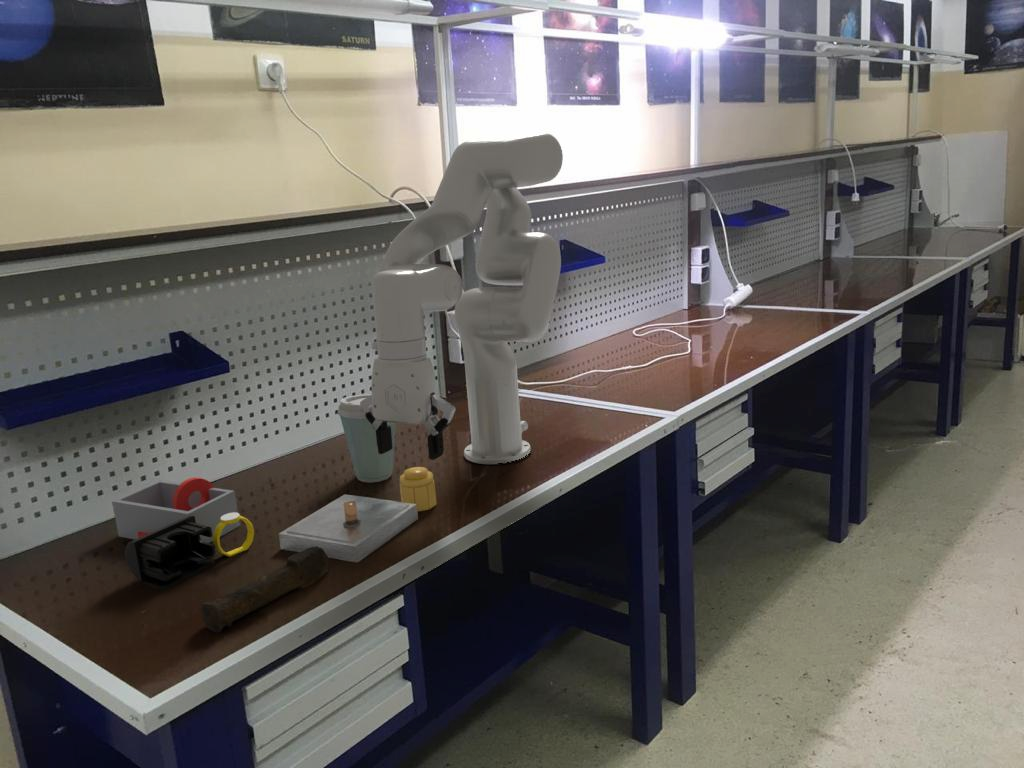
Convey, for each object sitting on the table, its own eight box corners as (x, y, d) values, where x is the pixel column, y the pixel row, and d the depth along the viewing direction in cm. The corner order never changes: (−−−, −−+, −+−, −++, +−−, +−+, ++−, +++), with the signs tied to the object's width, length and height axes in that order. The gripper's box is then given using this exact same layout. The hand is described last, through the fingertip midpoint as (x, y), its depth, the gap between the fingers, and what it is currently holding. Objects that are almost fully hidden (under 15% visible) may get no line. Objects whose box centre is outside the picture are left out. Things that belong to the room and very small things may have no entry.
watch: (224, 563, 126) (215, 527, 125) (214, 558, 128) (205, 522, 126) (260, 546, 130) (251, 510, 129) (250, 541, 132) (241, 506, 131)
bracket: (206, 512, 144) (198, 468, 142) (220, 518, 141) (212, 473, 139) (136, 538, 136) (126, 491, 134) (149, 545, 133) (140, 497, 131)
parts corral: (166, 513, 146) (160, 480, 145) (240, 525, 139) (234, 490, 137) (118, 536, 138) (111, 501, 137) (194, 550, 131) (188, 513, 129)
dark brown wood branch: (219, 638, 106) (213, 604, 105) (201, 628, 108) (196, 595, 107) (342, 577, 119) (338, 546, 118) (324, 570, 122) (320, 539, 121)
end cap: (188, 553, 130) (181, 511, 128) (220, 562, 126) (212, 519, 125) (129, 582, 122) (120, 538, 120) (161, 593, 118) (152, 547, 117)
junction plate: (346, 508, 143) (342, 474, 141) (418, 518, 136) (414, 483, 135) (281, 549, 129) (275, 511, 128) (357, 562, 123) (352, 523, 121)
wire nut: (414, 496, 146) (410, 463, 144) (441, 500, 143) (438, 466, 142) (396, 509, 141) (392, 475, 140) (424, 513, 139) (420, 478, 137)
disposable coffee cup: (374, 463, 164) (365, 386, 160) (417, 471, 158) (409, 392, 154) (333, 482, 155) (323, 401, 152) (377, 491, 149) (367, 408, 146)
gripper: (342, 352, 136) (352, 456, 140) (436, 356, 128) (444, 466, 132) (370, 343, 142) (379, 443, 146) (461, 347, 135) (468, 452, 138)
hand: (410, 454), depth 139 cm, fingers open, 9 cm apart
